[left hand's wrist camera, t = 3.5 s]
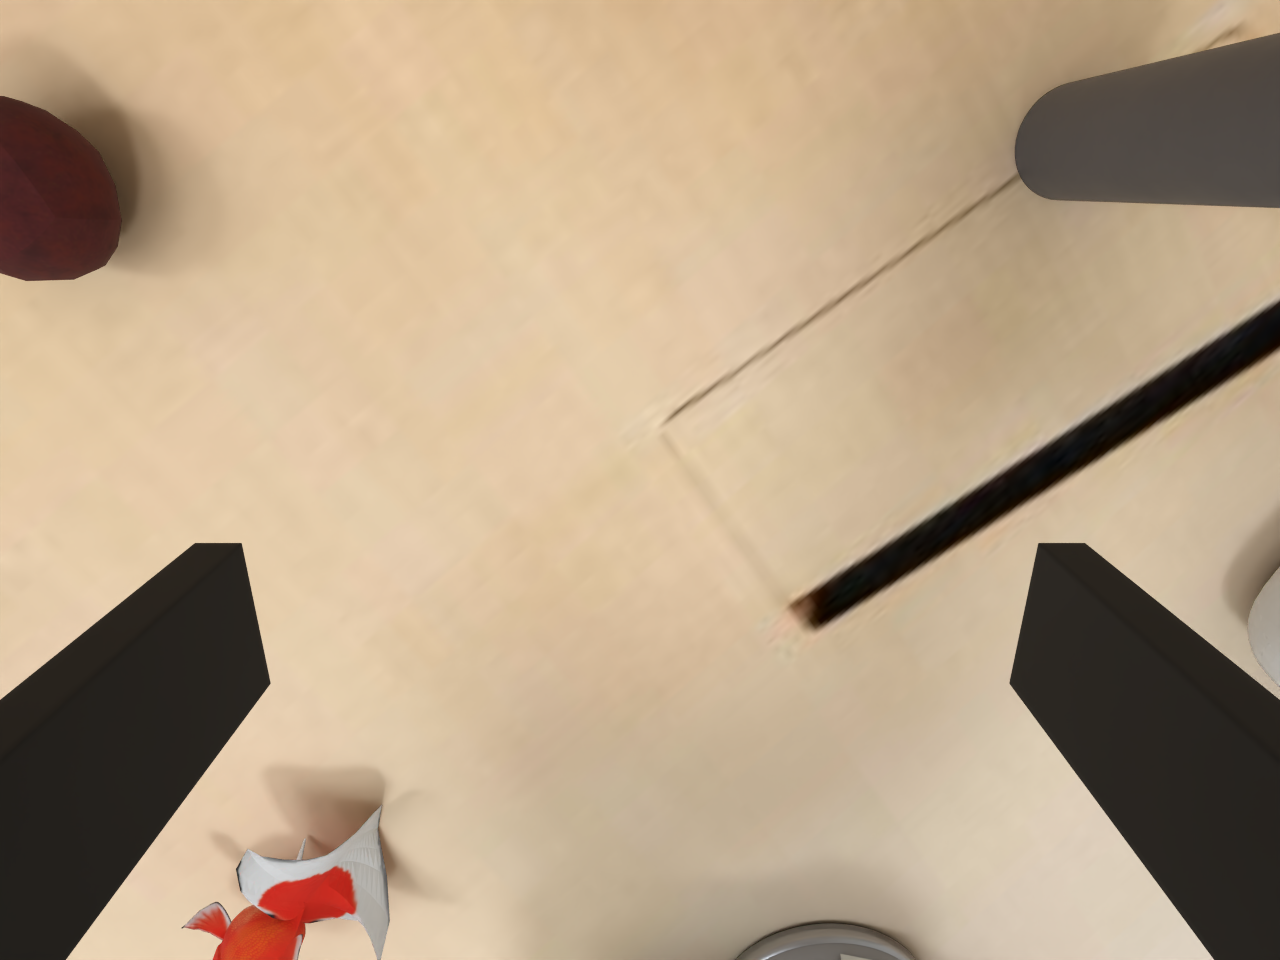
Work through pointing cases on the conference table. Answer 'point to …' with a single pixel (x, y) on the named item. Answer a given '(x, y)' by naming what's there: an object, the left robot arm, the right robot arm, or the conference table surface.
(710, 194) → the conference table surface
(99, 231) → the dark maroon ball
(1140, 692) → the left robot arm
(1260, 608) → the projector
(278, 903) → the fish
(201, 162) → the conference table surface
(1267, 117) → the dark grey cylinder
